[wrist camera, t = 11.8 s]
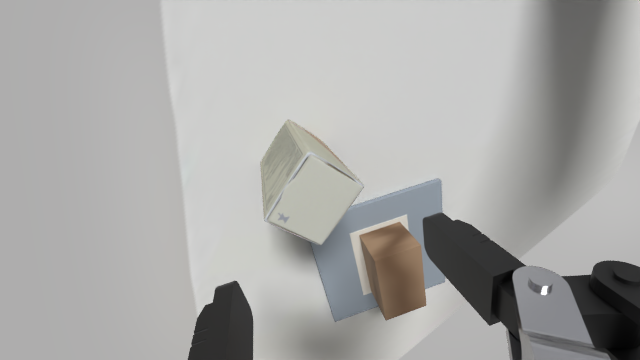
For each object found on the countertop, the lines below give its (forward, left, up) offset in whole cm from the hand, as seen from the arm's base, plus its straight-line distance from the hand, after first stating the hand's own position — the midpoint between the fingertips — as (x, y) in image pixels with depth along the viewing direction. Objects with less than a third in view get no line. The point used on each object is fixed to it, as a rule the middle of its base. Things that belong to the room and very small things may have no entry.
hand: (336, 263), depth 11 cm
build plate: (-7, +16, -16) cm, 24 cm away
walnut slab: (-7, +16, -16) cm, 24 cm away
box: (0, 0, -17) cm, 17 cm away
